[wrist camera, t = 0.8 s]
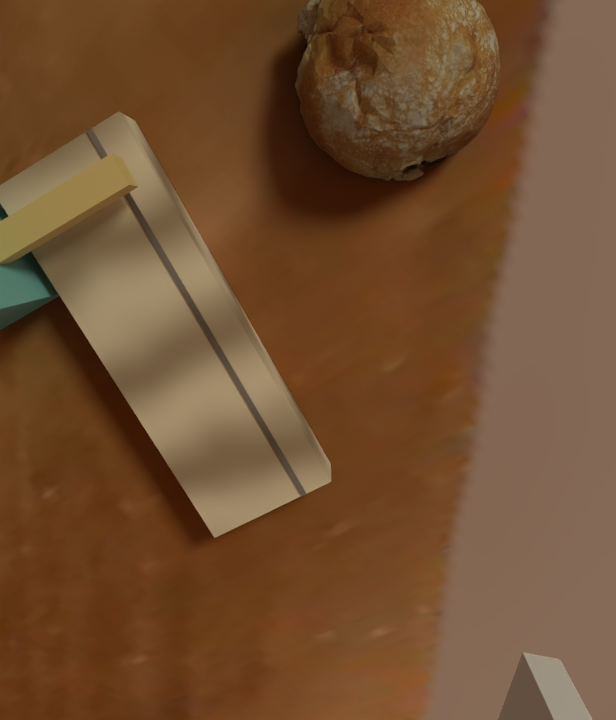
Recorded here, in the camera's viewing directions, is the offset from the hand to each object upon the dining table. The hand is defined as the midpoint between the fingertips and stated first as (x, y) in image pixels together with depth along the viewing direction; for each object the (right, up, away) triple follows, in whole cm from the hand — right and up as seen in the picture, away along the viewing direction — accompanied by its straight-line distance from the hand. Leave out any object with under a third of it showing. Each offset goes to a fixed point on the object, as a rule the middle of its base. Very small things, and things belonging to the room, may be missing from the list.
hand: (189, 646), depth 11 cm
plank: (-5, +7, +22) cm, 24 cm away
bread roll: (+7, +21, +19) cm, 29 cm away
